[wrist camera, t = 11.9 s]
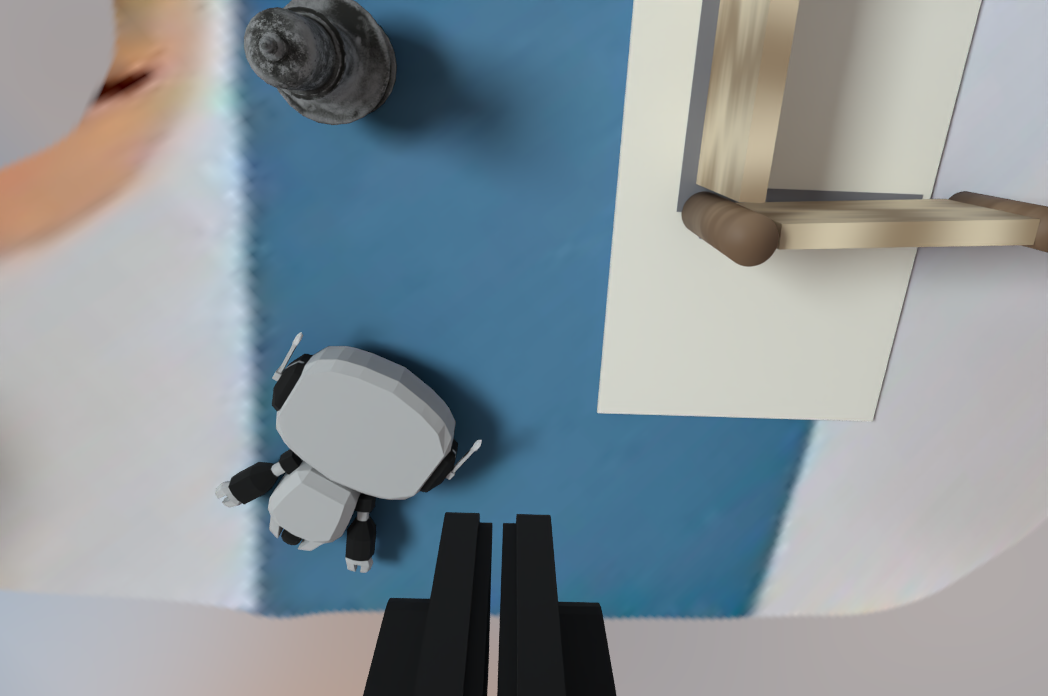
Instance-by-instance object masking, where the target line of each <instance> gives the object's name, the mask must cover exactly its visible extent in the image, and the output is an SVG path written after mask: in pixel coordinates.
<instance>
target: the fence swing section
mask: <svg viewBox="0 0 1048 696" xmlns="http://www.w3.org/2000/svg"><path fill="white" fill-rule="evenodd" d="M736 204H739V205H741V206H743V207H746V208H748V209H750V210H752V211H755V212H757V213H759V214H762V215H764V216H766V217H768V218H770V219H771V220H772V221H773V222H774V223H775V225H776V227H777V229H778V233H779V241H778V245H777V249H779V250H785V249H839V248H894V247H949V246H1003V245H1022V246H1026V247H1029V248H1033V249H1037V250H1040V251H1044V252H1048V207H1047V206H1041V205H1036V204H1031V203H1025V202H1020V201H1015V200H1009V199H1004V198H999V197H993V196H988V195H983V194H977V193H972V192H967V191H963V192H959V193H956V194H954V195H953V196H951V197H950V198H949V199H913V200H857V201H801V202H765V203H749V202H745V203H736Z"/></svg>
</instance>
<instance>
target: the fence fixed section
mask: <svg viewBox="0 0 1048 696" xmlns="http://www.w3.org/2000/svg"><path fill="white" fill-rule="evenodd" d="M798 6H799V0H720V5H719V13H718V21H717V28H716V36H715V44H714V51H713V59H712V66H711V74H710V82H709V89H708V97H707V104H706V112H705V120H704V127H703V135H702V142H701V150H700V158H699V165H698V173H697V180H696V184H698V185H700V186H702V187H705V188H707V189H709V190H712V191H714V192H716V193H719V194H721V195H724V196H726V197H728V198H731V199H733V200H735V201H738V202H749V203H765V200H766V194H767V188H768V182H769V177H770V171H771V165H772V159H773V153H774V147H775V141H776V135H777V130H778V124H779V118H780V112H781V106H782V100H783V94H784V89H785V83H786V77H787V71H788V65H789V59H790V53H791V47H792V42H793V36H794V30H795V24H796V18H797V12H798ZM681 216H682V221H683V223H684V225H685V226H686V228H687V229H689V230H690V231H691V232H693V233H694V234H696V235H697V236H698V237H700V238H701V239H703V240H704V241H705V242H707V243H708V244H710V245H711V246H713V247H714V248H715V249H717V250H718V251H720V252H721V253H722V254H724V255H725V256H727V257H728V258H729V259H731V260H732V261H734V262H735V263H737V264H739V265H741V266H746V267H752V266H757V265H760V264H762V263H764V262H765V261H767V260H768V259H769V258H770V257H771V256H772V255H773V253H774V252H775V250H776V248H777V245H778V241H779V233H778V229H777V227H776V225H775V223H774V222H773V221H772V220H771V219H770V218H768V217H766V216H764V215H762V214H759V213H757V212H755V211H752V210H750V209H748V208H746V207H743V206H741V205H739V204H736V203H734V202H732V201H730V200H727V199H725V198H723V197H720V196H718V195H716V194H714V193H711V192H706V191H703V192H698V193H696V194H694V195H692V196H691V197H690V198H689V199H688V200H687V201H686V202H685V204H684V206H683V209H682V213H681Z"/></svg>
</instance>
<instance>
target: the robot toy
mask: <svg viewBox="0 0 1048 696" xmlns="http://www.w3.org/2000/svg"><path fill="white" fill-rule="evenodd" d="M302 337H303V334H302V332H301V333H299V334H298V335H297V336H296V338H295V339H294V341H293V345H292V347H291V349H290V350H289V352H288V354H287V356H286V358H285V360H284V361H283V363H282V365H281V367H279V368H278V370H277V371H276V372H275V374H274V376H273V379H274V380H276V381H277V383H276V385H275V386H274V390H273V399H272V406H273V407H274V408H275V409H276V410H277V421H276V429H277V431H278V432H279V434H280V436H281V437H282V439H283V441H284V442H285V444H286V445H287V446H288V447H289V448H290V450H288V451H286V452H285V453H283V454H282V455H281V457H280V460H279V462H278V463H276V464H272V463H265V462H258V463H256V464H254V465H252V466H250V467H248V468H247V469H245V470H243V471H241V472H239V473H238V474H236V475H235V476H233V477H232V478H231V481H226V482H223V483H221V484H220V485H219V486H218V487H217V488H216V493H215V494H216V497H217V498H218V499H220V498H221V497H223V496H225V495H226V496H227V497H226V498H225V499H224V501H223V502H222V503H223V504H224V505H225V506H227V507H233V506H237V505H240V504H242V503H243V504H246V503H248V502H250V501H252V500H254V499H256V498H257V497H259V496H261V495H263V494H265V493H266V492H267V491H269V490H270V489H271V488H272V486H273V485H274V483H275V482H276V480H277V479H278V477H279V475H281V474H283V473H285V472H286V474H285V475H284V476H283V477H282V479H281V481H280V482H279V484H278V485H277V487H276V489H275V490H274V492H273V493H272V495H271V497H270V499H269V506H268V510H269V512H270V515H271V520H270V528H269V529H270V531H271V532H272V533H273V534H274V535H275V536H276V538H277V539H278V537H279V535H280V533H281V532H282V530H283V528H284V530H283V532H282V535H281V537H282V539H283V541H284V542H286V543H287V544H290V545H297V544H298V543H299V542H300V541H301V540H302V539H303V540H302V542H301V544H300V546H299V548H298V549H301V550H309V551H311V550H313V549H315V548H316V547H318V546H320V545H322V544H323V543H329V542H333V541H334V540H336V539H338V538H339V537H341V536H342V534H343V533H344V531H345V529H346V527H347V525H348V523H349V521H350V519H351V516H352V514H353V512H354V510H355V511H357V512H358V513H357V517H356V518H355V519H354V521H353V522H352V523H351V525H350V526H349V527H348V529H347V541H346V563H347V567H348V569H349V570H351V571H356V569H357V565H361V571H360V572H362V573H365V572H368V571H369V570H370V569H371V566H372V564H373V560H372V555H373V554H374V550H375V539H376V524H375V523H374V521H373V520H372V518H371V517H370V516H369V512H371V511H372V510H373V509H374V507H375V501H376V497H378V498H382V499H388V500H405V499H407V498H409V497H412V496H414V495H415V494H416V493H418V492H419V491H422V492H428V491H430V490H431V489H433V488H434V487H436V486H437V485H439V484H441V483H442V482H443V481H444V479H445V478H447V479H449V480H450V479H451V478H452V477H453V476H454V475H455V472H456V470H457V469H458V468H459V467H460V466H461V465H462V464H463V463H464V462H465V461H466V460H467V458H468V457H469V456H470V455H471V454H472V453H473V452H474V451H476V450H477V449H478V448H479V447H480V445H481V442H482V440H477V441H476V442H475V443H474V445H473V447H472V448H471V449H470V450H469V451H468V452H467V453H466V454H465V455H464V456H463V457H462V458H461V459H460V460H459V462H458V463H457V464H456V465H455V466H454V463H455V459H456V454H457V447H458V443H457V442H456V441H455V439H454V430H455V420H454V418H453V415H452V413H451V411H450V409H449V407H448V406H447V405H446V403H445V402H444V401H443V400H442V399H441V398H440V397H439V396H438V395H437V394H436V393H435V392H434V391H433V390H432V389H431V388H430V387H429V386H428V385H426V384H425V383H424V382H423V381H422V380H420V379H419V378H418V377H417V376H415V375H414V374H413V373H412V372H410V371H409V370H408V369H407V368H406V367H403V366H401V365H399V364H396V363H394V362H392V361H389V360H387V359H385V358H382V357H380V356H378V355H376V354H373V353H370V352H367V351H364V350H360V349H357V348H353V347H348V346H328V347H326V348H325V349H323V350H321V351H320V352H318V353H316V354H314V355H309V354H304V355H302V356H300V357H299V358H297V359H296V360H294V361H293V362H291V363H290V364H289V365H288V366H287V367H286V369H284V368H285V366H286V364H287V363H288V361H289V359H290V357H291V355H292V353H293V352H294V350H295V348H296V346H297V345H298V343H299V342H300V341H301V339H302Z"/></svg>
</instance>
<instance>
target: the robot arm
mask: <svg viewBox="0 0 1048 696" xmlns="http://www.w3.org/2000/svg"><path fill="white" fill-rule="evenodd" d="M491 557H492V523H480V514H479V513H452V512H446V513H445V517H444V522H443V528H442V534H441V540H440V545H439V551H438V557H437V563H436V568H435V574H434V580H433V586H432V592H431V597H430V599H412V598H390V599H389V601H388V603H387V606H386V609H385V613H384V617H383V621H382V624H381V628H380V632H379V636H378V640H377V644H376V648H375V651H374V656H373V659H372V663H371V667H370V671H369V675H368V679H367V682H366V686H365V690H364V694H363V696H487V686H488V664H489V631H490V594H491ZM498 662H499V663H498V693H497V696H616V690H615V684H614V678H613V673H612V667H611V662H610V655H609V650H608V643H607V638H606V632H605V626H604V620H603V614H602V610H601V606H600V604H599V603H587V602H558V596H557V584H556V572H555V561H554V549H553V537H552V526H551V516H550V515H528V514H517V517H516V523H503V544H502V573H501V602H500V632H499V661H498Z"/></svg>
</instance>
